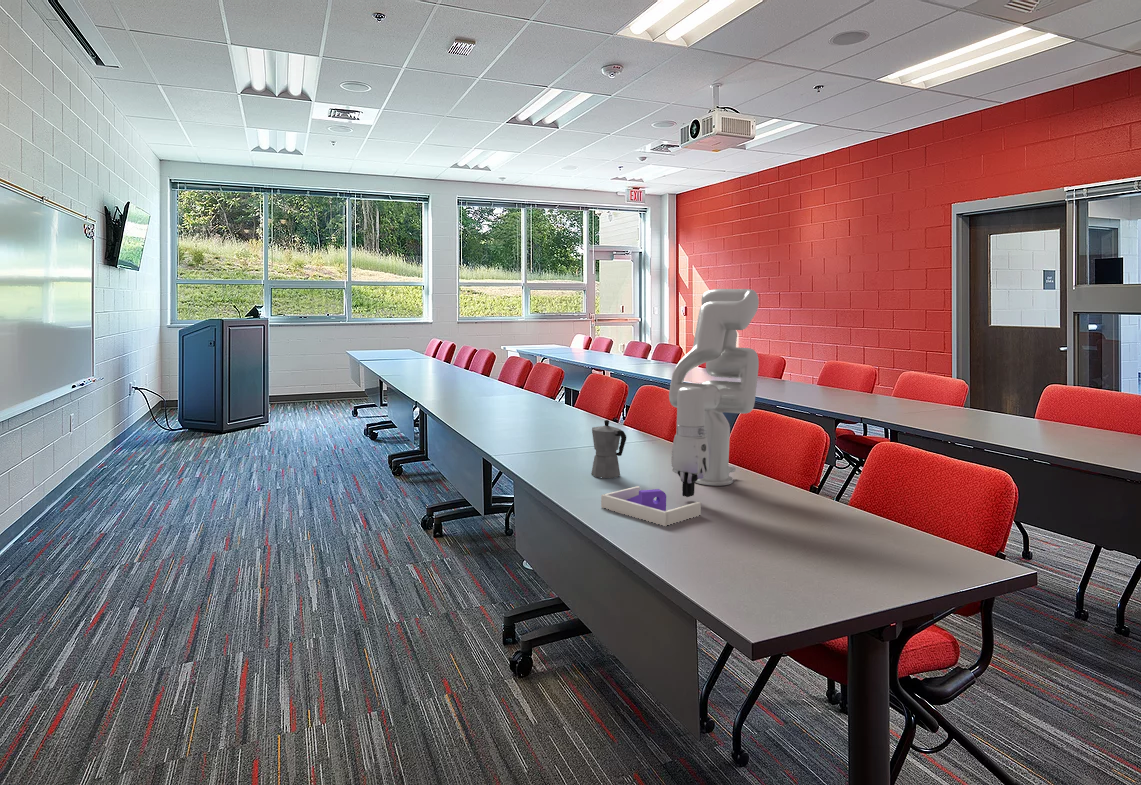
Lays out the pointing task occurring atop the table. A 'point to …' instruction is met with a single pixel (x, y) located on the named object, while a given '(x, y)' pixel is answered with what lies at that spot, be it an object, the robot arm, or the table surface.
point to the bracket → (650, 499)
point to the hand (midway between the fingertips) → (688, 495)
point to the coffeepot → (607, 450)
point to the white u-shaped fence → (647, 508)
